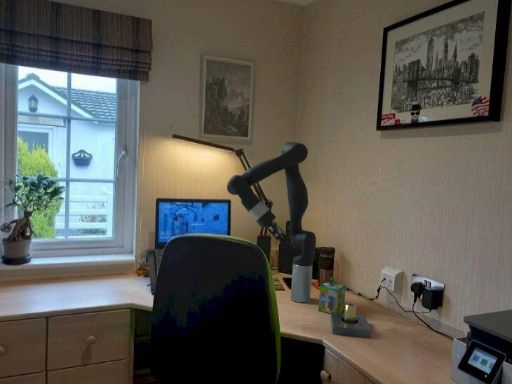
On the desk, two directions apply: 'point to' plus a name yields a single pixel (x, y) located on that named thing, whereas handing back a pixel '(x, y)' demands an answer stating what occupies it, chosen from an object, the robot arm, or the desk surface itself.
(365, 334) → the jig plate
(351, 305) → the brass sleeve
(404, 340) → the desk surface
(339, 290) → the chalk box
